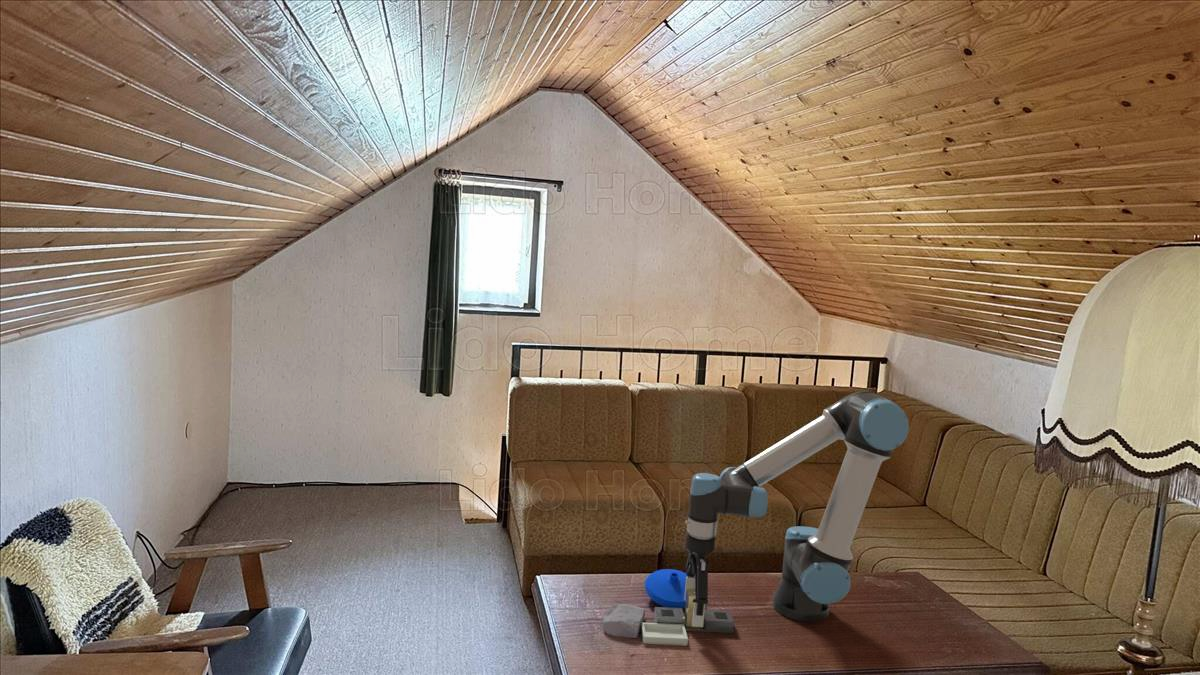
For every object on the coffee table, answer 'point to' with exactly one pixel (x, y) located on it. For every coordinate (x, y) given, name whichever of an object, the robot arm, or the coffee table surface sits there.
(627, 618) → the stone block
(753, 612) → the coffee table surface
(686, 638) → the parts tray
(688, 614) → the wooden drawer with knob
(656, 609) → the rack rail
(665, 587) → the blue funnel disc
